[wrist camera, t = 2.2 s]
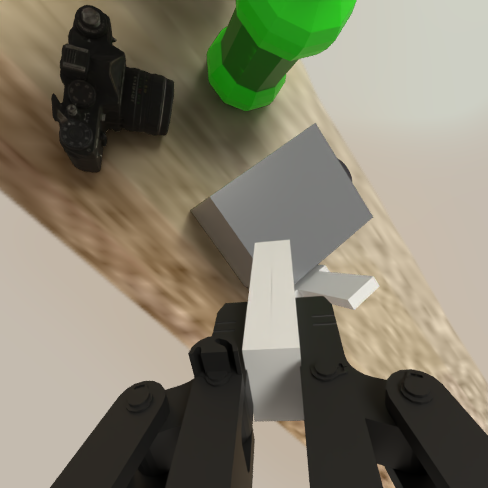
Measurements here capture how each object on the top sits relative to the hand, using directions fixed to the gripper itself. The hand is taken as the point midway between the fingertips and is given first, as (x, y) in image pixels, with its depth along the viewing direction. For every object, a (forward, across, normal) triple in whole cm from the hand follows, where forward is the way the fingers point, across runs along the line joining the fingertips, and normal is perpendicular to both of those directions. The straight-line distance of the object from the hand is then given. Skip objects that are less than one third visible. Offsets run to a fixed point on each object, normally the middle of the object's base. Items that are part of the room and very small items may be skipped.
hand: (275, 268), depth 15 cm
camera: (+29, -18, +6) cm, 34 cm away
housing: (+30, -2, -9) cm, 31 cm away
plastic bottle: (+36, -4, +8) cm, 37 cm away
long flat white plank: (+25, -2, -16) cm, 30 cm away
